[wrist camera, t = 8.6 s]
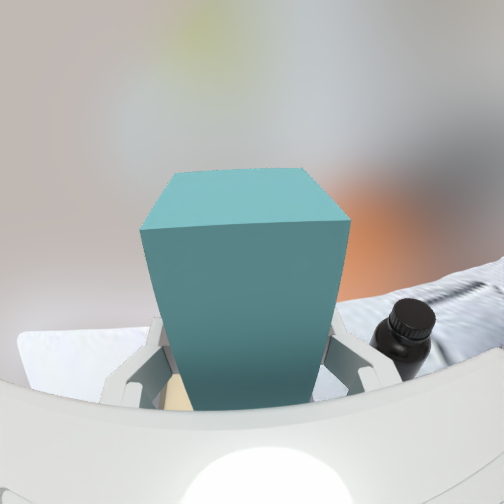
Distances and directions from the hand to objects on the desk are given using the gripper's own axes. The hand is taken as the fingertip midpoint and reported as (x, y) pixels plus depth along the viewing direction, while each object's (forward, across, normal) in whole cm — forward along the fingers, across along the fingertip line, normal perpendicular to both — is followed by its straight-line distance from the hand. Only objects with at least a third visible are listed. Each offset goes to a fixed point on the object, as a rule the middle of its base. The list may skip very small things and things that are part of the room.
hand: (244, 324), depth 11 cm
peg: (-1, 0, +9) cm, 9 cm away
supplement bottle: (+8, -16, +21) cm, 28 cm away
